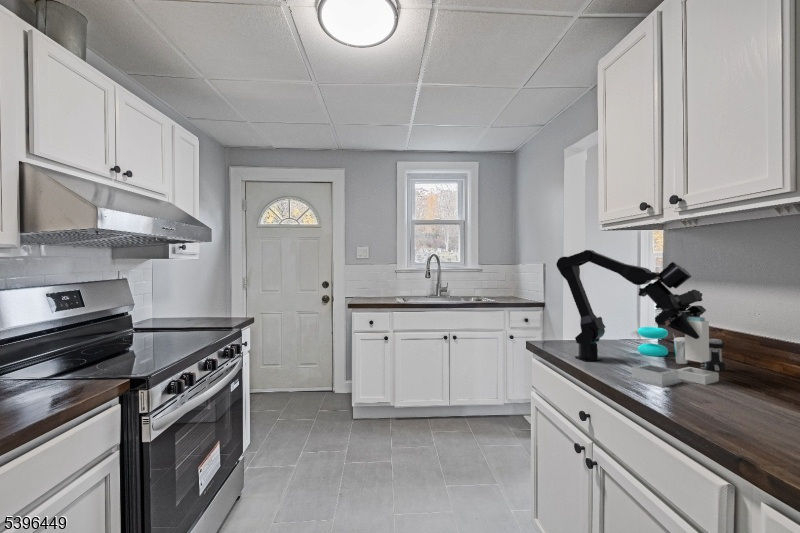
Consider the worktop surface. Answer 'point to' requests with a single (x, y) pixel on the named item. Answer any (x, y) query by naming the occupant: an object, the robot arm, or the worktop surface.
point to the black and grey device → (715, 356)
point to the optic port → (655, 375)
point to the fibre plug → (698, 341)
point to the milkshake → (680, 350)
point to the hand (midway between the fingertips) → (702, 337)
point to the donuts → (654, 334)
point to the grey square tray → (698, 375)
